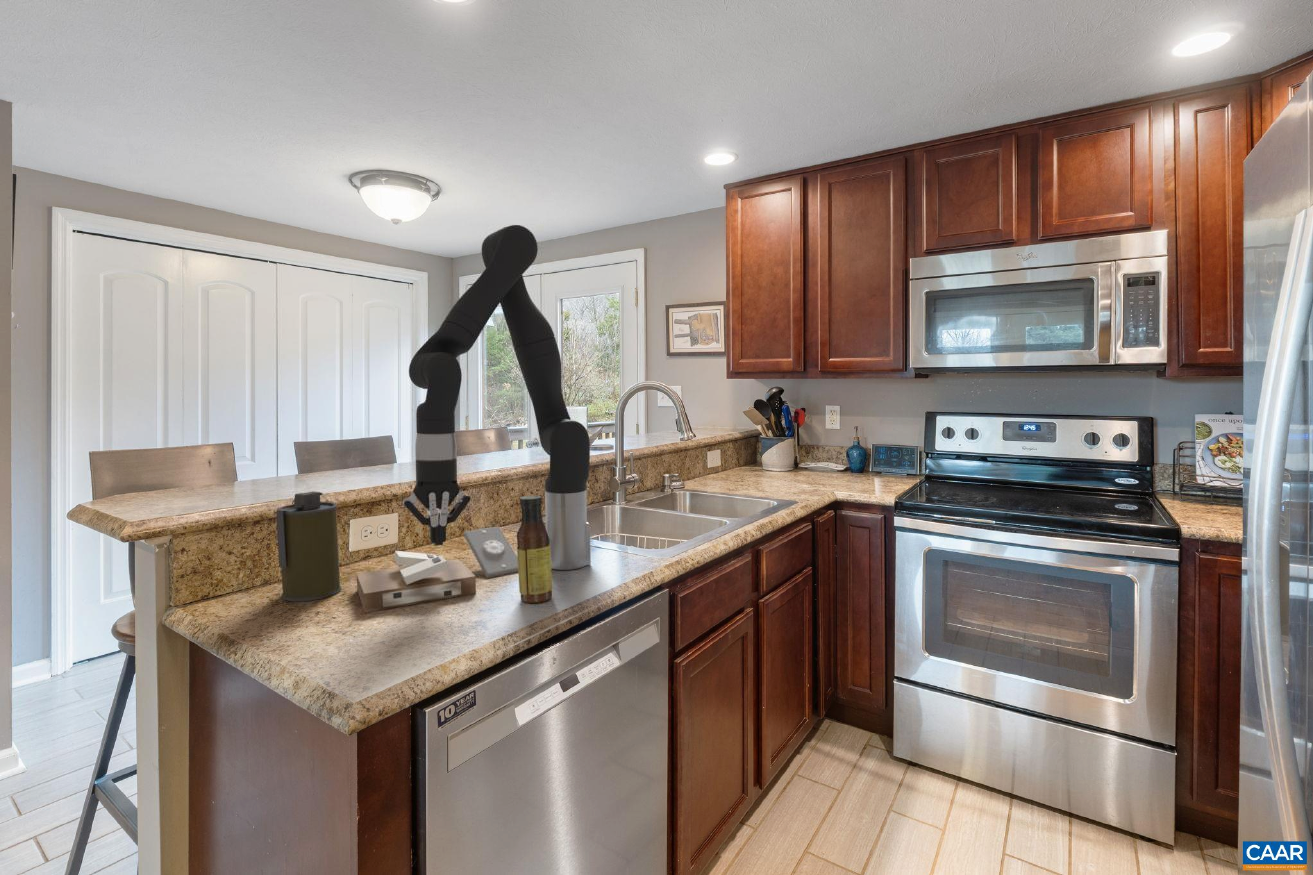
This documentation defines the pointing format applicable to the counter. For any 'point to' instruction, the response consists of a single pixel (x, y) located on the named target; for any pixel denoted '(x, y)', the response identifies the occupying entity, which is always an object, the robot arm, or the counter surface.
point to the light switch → (492, 551)
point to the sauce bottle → (533, 553)
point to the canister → (308, 548)
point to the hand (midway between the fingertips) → (437, 544)
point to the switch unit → (413, 587)
